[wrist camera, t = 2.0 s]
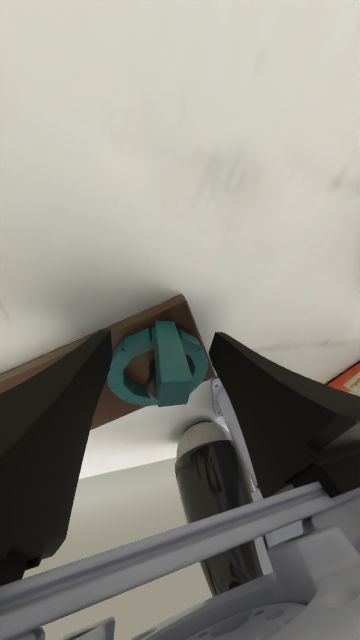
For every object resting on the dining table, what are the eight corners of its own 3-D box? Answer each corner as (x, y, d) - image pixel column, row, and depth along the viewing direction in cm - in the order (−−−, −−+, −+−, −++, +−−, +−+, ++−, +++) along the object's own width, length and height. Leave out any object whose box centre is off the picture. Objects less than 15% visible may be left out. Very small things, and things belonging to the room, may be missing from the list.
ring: (193, 390, 16) (212, 453, 11) (113, 397, 14) (96, 477, 9) (214, 322, 12) (258, 376, 7) (105, 318, 10) (64, 390, 5)
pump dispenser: (218, 404, 21) (326, 654, 8) (232, 428, 27) (311, 603, 14) (159, 430, 22) (176, 706, 9) (184, 449, 27) (217, 637, 14)
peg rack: (182, 293, 12) (221, 353, 5) (210, 366, 17) (247, 438, 11) (-22, 383, 12) (-202, 535, 6) (68, 427, 17) (24, 531, 11)
